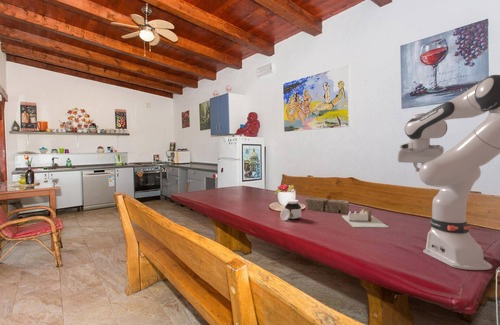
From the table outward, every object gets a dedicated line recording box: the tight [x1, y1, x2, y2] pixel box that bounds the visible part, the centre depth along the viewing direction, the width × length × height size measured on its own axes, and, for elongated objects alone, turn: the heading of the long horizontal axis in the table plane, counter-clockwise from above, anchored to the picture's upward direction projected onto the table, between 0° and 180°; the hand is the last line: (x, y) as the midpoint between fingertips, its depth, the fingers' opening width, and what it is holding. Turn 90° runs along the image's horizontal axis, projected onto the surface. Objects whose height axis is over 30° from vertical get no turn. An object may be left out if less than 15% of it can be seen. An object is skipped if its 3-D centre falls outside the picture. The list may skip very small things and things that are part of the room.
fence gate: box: [347, 210, 368, 221], centre depth 156 cm, size 11×1×5 cm, turn 83°
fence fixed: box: [361, 206, 372, 222], centre depth 161 cm, size 13×2×7 cm, turn 176°
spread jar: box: [279, 199, 302, 221], centre depth 165 cm, size 12×11×12 cm
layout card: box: [341, 215, 390, 229], centre depth 157 cm, size 24×19×1 cm
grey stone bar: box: [304, 196, 350, 215], centre depth 186 cm, size 8×8×29 cm
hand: (419, 171), depth 139 cm, fingers closed
